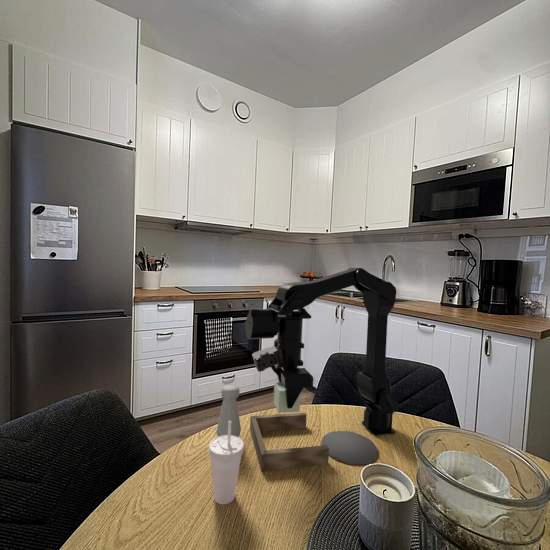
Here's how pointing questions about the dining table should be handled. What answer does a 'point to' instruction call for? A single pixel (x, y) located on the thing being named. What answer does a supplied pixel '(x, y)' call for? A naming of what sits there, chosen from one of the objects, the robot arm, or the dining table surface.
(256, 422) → the bay
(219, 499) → the smoothie
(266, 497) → the dining table surface
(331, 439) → the coaster
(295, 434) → the dining table surface
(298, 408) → the block
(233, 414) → the salt shaker
